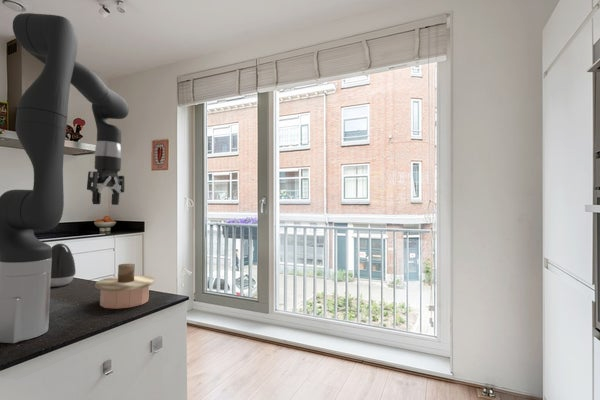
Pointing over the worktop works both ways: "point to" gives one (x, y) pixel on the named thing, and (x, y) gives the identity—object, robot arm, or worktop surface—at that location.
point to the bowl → (124, 298)
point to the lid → (124, 280)
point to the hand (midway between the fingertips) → (106, 204)
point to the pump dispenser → (62, 266)
